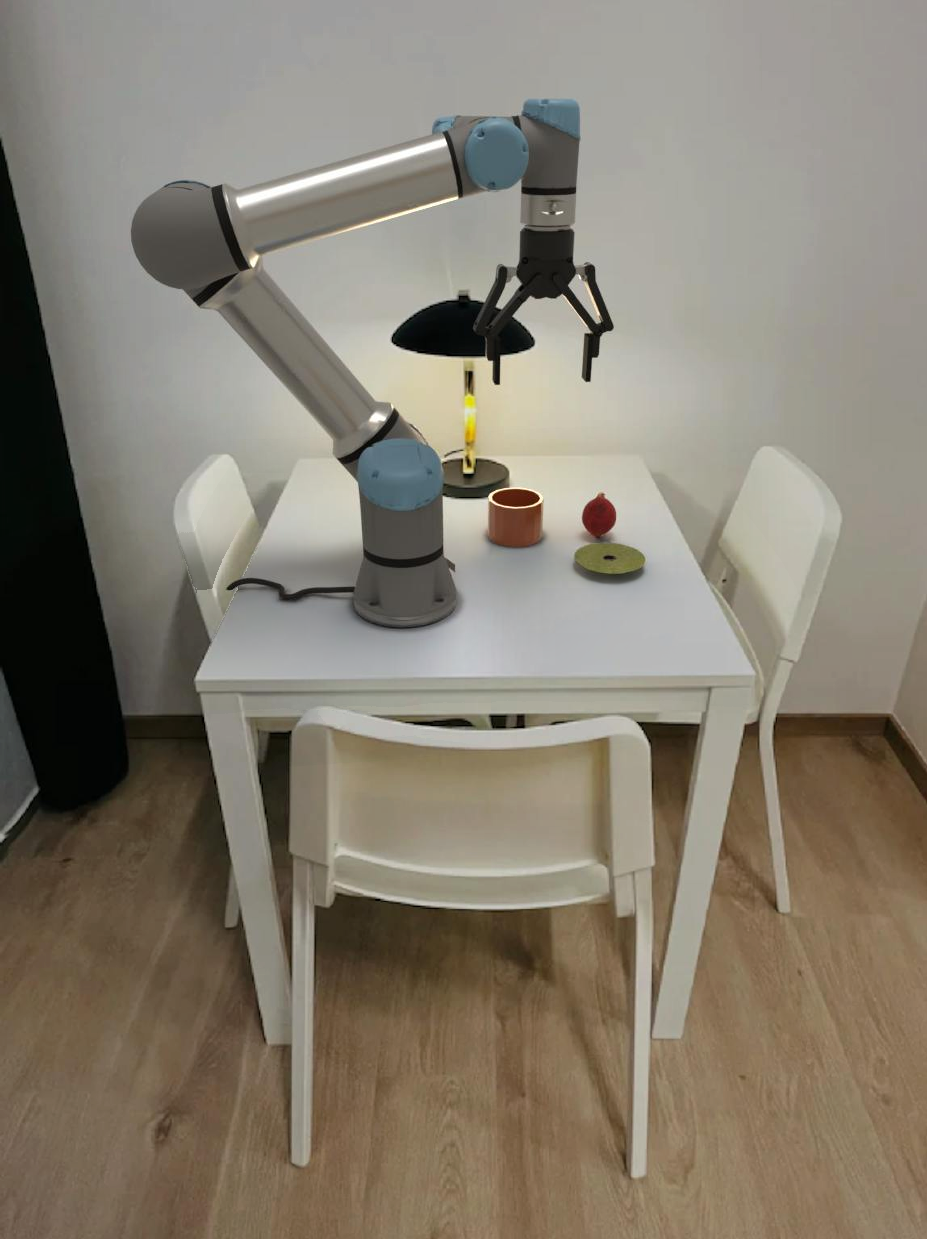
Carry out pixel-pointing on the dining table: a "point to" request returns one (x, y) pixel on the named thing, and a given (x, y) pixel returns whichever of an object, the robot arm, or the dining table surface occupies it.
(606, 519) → the onion
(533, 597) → the dining table surface
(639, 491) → the dining table surface
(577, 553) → the mat
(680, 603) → the dining table surface
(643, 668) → the dining table surface
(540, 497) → the flower pot
